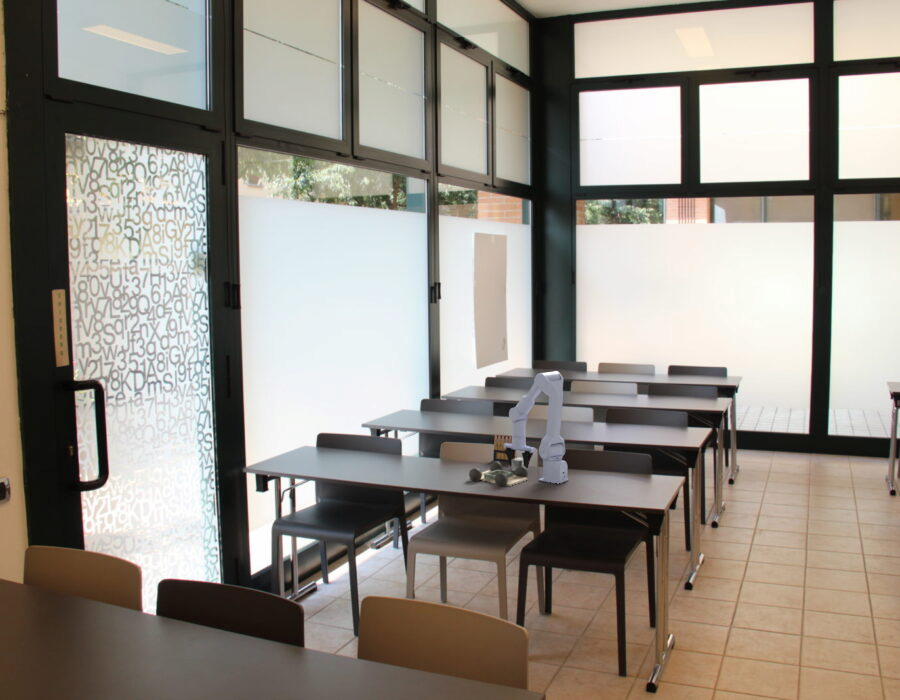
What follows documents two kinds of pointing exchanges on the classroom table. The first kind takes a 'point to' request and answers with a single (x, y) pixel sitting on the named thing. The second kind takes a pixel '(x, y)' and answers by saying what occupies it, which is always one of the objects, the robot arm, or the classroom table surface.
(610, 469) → the classroom table surface
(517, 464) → the engine block
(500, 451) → the ammunition clip
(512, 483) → the chassis
